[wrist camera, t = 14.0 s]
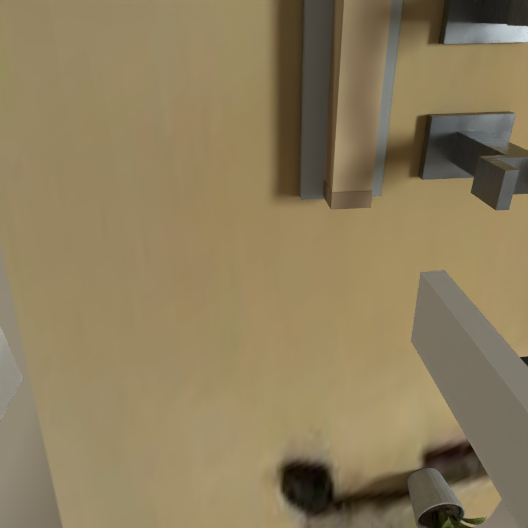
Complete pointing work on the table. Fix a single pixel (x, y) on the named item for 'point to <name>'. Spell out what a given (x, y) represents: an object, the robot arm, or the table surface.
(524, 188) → the post far
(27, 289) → the table surface
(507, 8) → the post near
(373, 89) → the rail
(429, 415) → the table surface
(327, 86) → the mat
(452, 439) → the table surface
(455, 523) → the house plant
